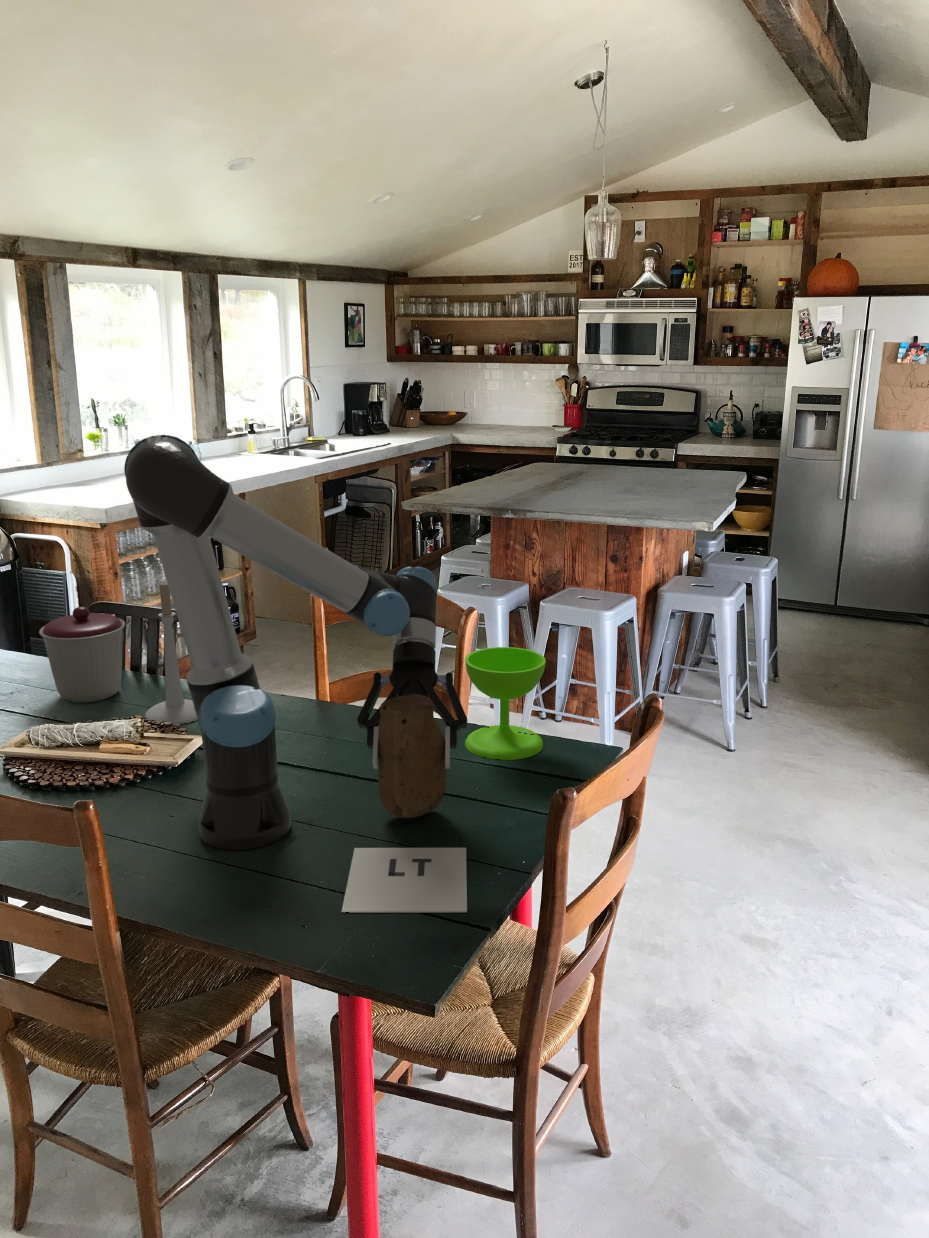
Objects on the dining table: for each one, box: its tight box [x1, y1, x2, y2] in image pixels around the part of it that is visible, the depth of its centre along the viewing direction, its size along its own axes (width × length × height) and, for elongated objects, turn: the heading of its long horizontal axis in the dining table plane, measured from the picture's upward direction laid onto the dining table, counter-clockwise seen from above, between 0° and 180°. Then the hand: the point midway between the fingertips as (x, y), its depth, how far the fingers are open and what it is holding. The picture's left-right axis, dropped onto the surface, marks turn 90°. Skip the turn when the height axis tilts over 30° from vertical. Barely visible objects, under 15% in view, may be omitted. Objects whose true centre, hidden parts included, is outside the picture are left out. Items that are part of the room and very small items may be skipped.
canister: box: [38, 606, 126, 704], centre depth 221 cm, size 18×18×21 cm
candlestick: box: [144, 581, 198, 724], centre depth 208 cm, size 13×13×30 cm
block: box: [377, 694, 447, 819], centre depth 164 cm, size 11×8×20 cm
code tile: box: [341, 847, 468, 914], centre depth 148 cm, size 18×18×1 cm
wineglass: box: [464, 646, 547, 761], centre depth 195 cm, size 16×16×18 cm
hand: (411, 766), depth 162 cm, fingers closed on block, 11 cm apart
